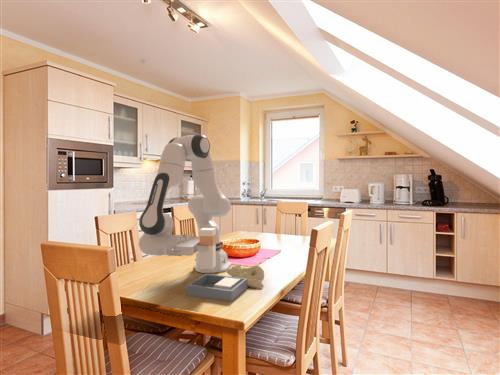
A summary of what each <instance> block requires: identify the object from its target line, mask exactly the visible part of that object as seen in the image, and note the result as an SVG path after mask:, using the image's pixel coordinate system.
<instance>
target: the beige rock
mask: <svg viewBox="0 0 500 375" xmlns="http://www.w3.org/2000/svg"><path fill="white" fill-rule="evenodd" d="M241 265H242V263H241V264H237V265H236V266H235V265H233V266H232V267H229V268H228V269H227V270H226V271H225V272H226V273H227V274H228V275H229V276H230V277H238V278H246V279H248V287H249V288H252V289H256V290H262V289H263V284H262V283H263V281H264V279H265V272H264V269H263V268H262V267H261V266H260V265H259V264H258V265H253V266H251V267H242V266H241Z"/></svg>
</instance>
